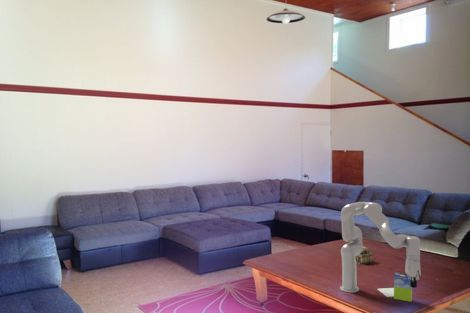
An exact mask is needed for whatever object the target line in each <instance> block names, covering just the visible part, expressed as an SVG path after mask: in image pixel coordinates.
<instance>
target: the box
mask: <svg viewBox="0 0 470 313" xmlns="http://www.w3.org/2000/svg"><path fill="white" fill-rule="evenodd" d="M393 273H394V274H393V288H394V297H393V299H394V300H397V301H398V300H399V301H405V302H411V303H412V301H413V288H412V287H410V276H409V275H408V274H406V273H400V272H393Z"/></svg>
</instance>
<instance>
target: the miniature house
mask: <svg viewBox="0 0 470 313" xmlns="http://www.w3.org/2000/svg"><path fill="white" fill-rule="evenodd" d="M369 249H370V248H369V247H366V246H364V245H363V250H362V252H361V253H360V254H359V255H357V256H355V259H356V263H358V264H357V265H367V264H373V252H370V250H369Z"/></svg>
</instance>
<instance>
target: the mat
mask: <svg viewBox="0 0 470 313" xmlns="http://www.w3.org/2000/svg"><path fill="white" fill-rule="evenodd" d="M377 291H379V292H380V293H382V294H383V296H385V297H386V298H394V287H385V288H380V287H379V288H377Z"/></svg>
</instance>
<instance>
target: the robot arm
mask: <svg viewBox="0 0 470 313" xmlns="http://www.w3.org/2000/svg"><path fill="white" fill-rule="evenodd" d="M359 215H365V216H366V217H367V218H368V219H369V221H371V222H372V223H373V224H374V225H375V226H376V227H377V228H378V230H379V233H380V235H381V237H382V238H383V239H384V241H385V242H386V243H387V244H388V245H389V246H390V247H391V248H393V249H398V250H399V249H401V248H403V247H406V249H405V250H406V252H405V253H406V254H405V255H406V258H405V264H404V266H405V268H404V271H405V274H408V275H409V276H410V287H412V289H413V288H414V289H415V288H417V287H418V284H417V283H418V281H420V278H421V274H422V272H421V271H422V270H421V269H422V268H421V267H422V266H421V242H420V241H421V239H420V237H418V236H413V235H407V234H405V233H404V234H403V233H399V234H397V235H396V234H395V233H394V232H393V230H391V228H390V226H389V225H390V224H389V223H390V219H389V218H388V217H387V216H386V215H385V214H384V213H383V207H382V205H381V204H380V203H378V202H371V201H370V202H368V201H367V202H366V201H357V202H352V203H349V204H346V205H345V206H343V207H342V208H341V210H340V219H341V237H342V239H343V241H344V242H348V243H345V244H343V246H342V247H341V249H340V255H341V268H342V269H341V271H342V273H341V274H342V276H341V279H342V283H341V284H342V285H340V286H339V290H340V291H343V292H345V293H350V294H351V293H358V292H359V291H360V288H359V287H358V285H357V284H358V282H357V279H358V277H357V276H358V275H357V274H358V272H357V271H358V270H357V267H358V266H357V265H358V264H357V263H356V259H355V256H357V255H359V254H360V253H361V252H362V250H363V246H364V245H363V243H364V242H363V233H362V232H363V231H362V230H361V228H360V227H359V226H356V225H355V220H354V217H355V216H359Z"/></svg>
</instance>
